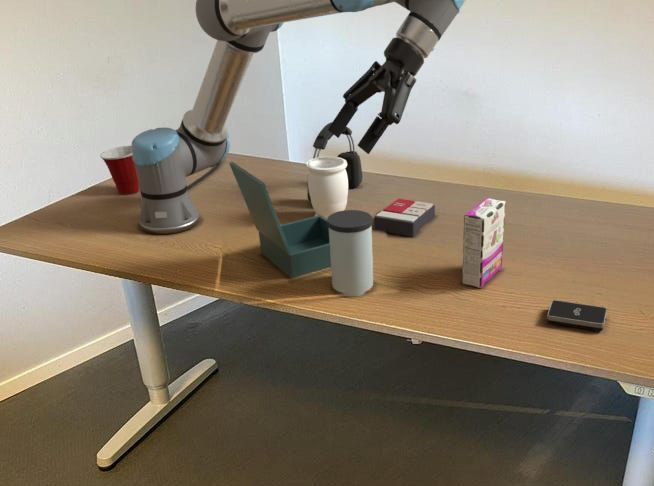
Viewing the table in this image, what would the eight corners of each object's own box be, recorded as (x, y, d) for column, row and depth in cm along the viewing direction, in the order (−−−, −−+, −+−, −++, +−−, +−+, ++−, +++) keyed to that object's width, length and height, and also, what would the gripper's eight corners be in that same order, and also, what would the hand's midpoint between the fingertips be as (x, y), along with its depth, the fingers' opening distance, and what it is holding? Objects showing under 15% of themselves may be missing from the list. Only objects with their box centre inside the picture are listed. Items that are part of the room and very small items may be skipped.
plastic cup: (113, 185, 216) (103, 145, 209) (150, 183, 217) (141, 143, 210) (105, 198, 207) (95, 157, 200) (144, 196, 208) (135, 155, 201)
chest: (322, 238, 181) (320, 214, 177) (356, 262, 169) (355, 237, 166) (261, 255, 173) (258, 230, 170) (292, 281, 162) (290, 255, 158)
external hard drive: (551, 308, 149) (552, 299, 148) (606, 316, 146) (608, 307, 145) (545, 324, 144) (547, 315, 143) (603, 333, 141) (604, 324, 140)
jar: (344, 227, 187) (341, 170, 178) (305, 224, 188) (301, 168, 180) (353, 211, 195) (351, 156, 187) (317, 209, 197) (313, 154, 189)
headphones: (346, 180, 216) (343, 112, 204) (365, 183, 213) (362, 114, 202) (305, 205, 199) (299, 132, 188) (325, 209, 197) (320, 135, 186)
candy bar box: (482, 264, 167) (486, 196, 158) (502, 269, 165) (507, 200, 156) (460, 284, 159) (463, 213, 150) (480, 289, 157) (485, 218, 148)
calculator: (435, 202, 190) (413, 220, 178) (435, 218, 192) (413, 236, 180) (397, 196, 194) (373, 213, 182) (397, 212, 196) (373, 230, 184)
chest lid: (232, 161, 158) (228, 162, 158) (264, 182, 147) (260, 184, 147) (259, 228, 170) (256, 229, 170) (291, 252, 158) (288, 254, 158)
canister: (330, 278, 162) (325, 211, 153) (371, 275, 163) (369, 208, 154) (333, 298, 155) (328, 228, 146) (376, 295, 155) (374, 225, 147)
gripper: (457, 70, 132) (390, 168, 135) (391, 52, 151) (334, 137, 154) (431, 44, 128) (362, 145, 130) (367, 28, 146) (308, 117, 149)
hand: (347, 141), depth 142 cm, fingers open, 13 cm apart
